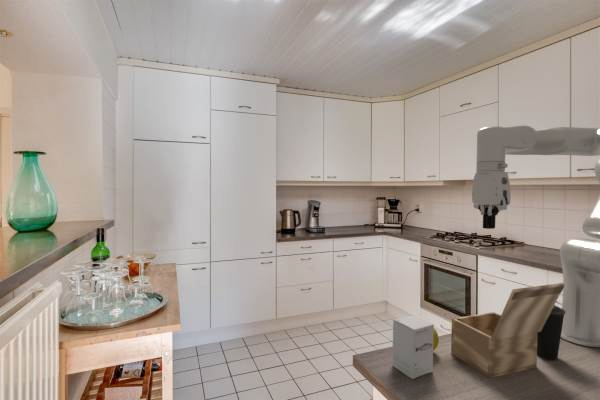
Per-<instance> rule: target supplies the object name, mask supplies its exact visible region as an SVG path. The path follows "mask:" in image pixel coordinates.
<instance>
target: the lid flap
mask: <svg viewBox="0 0 600 400" xmlns="http://www.w3.org/2000/svg"><path fill="white" fill-rule="evenodd" d="M564 285H565V284H563V282H560V283H553V284H552V283H551V284H544V285H536V286H528V287H520V288H513V289H512V290H511V293H510V294H509V297H508V299H507V301H506V304H505V306H504V308H503V310H502V313H501V314H500V315H501V317H500V319H499V322H498V324H497V326H496V328H495V331H494V333H493V335H492V337H491V339H492V340H493V341H494V340H499V339H504V338H510V337H515V336H520V335H525V334H530V333H536V332H541V330H542V328H543V326H544V324H545V322H546V320H547V318H548V316H549V315H550V313H551V311H552V309H553V307H554V305H555V304H556V302H557V300H558V299H559V296H560V295H561V294H562V293H563V288H564ZM555 306H556V305H555Z"/></svg>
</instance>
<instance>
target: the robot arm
mask: <svg viewBox="0 0 600 400" xmlns="http://www.w3.org/2000/svg"><path fill="white" fill-rule="evenodd" d="M506 155H507V156H508V155H510V156H513V155H514V156H522V155H523V156H529V155H530V156H581V157H582V156H584V157H593V156H594V157H596V156H597V157H599V156H600V127H577V126H576V127H573V126H557V127H550V128H545V129H539V130H536V129H535V128H533V127H532V126H530V125H529V126H528V125H515V126H505V127H503V126H485V127H482V128H480V129H478V131H477V133H476V165H475V166H476V170H475V171H476V173H474V176H473V182H472V189H471V201H472V203H473V208H474V209H477V210H479V212H480V215H482V228H483V229H486V230H487V229H488V230H491V229H492V230H493V229H496V216H498V214H499V213H500V212H502V211H506V210H507V209H508V207H507V206H508V205H510V204H511V182H510V178H509V173H508V172H506V169H508V167H509V165H508V163H506ZM594 174H595V177H596V179H597V181H598V184H599V185H600V158H599V159H598V160H597V161H596V163H595V165H594ZM581 228H582V232H583V233H584V234H585V235H587V237H590V238H593V239H589V238H584V237H573V238H569V239H567V240H565V241H564V242H563V243H562V245H561V246H560V247H559V257H560V262H561V267H562V283H563V284H565V285H564V288H563V290H562V296H561V298H562V300H561V301H562V302H561V304H562V305H561V306H562V307H561V309H563V310H565V312H566V313H565V315H564V318H563V325H562V332H561V338H560V339H563V340H565V341H568V342H570V343H573V344H576V345H580V346H583V347H584V346H585V347H589V348H590V347H591V348H600V195H599V196H598V197H597V199H596V201H595V202H594V204H593V206H592V207H591V209H590V210H589V212H588V213H587V216H586V217H585V218H584V221H583V223H582V226H581Z"/></svg>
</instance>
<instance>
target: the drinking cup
mask: <svg viewBox="0 0 600 400" xmlns="http://www.w3.org/2000/svg"><path fill="white" fill-rule="evenodd" d="M565 313H566V312H565V310H563V309H562V307H559V306H557V305H554V307H553V309H552V311H551V313H550V315H549V316H548V318H547V320H546V322H545V324H544V326H543V328H542V330H541V332H538V336H537V357H539V358H540V359H544V360H548V361H557V360H558V358H559V350H560V343H561V339H562V338H561V332H562V325H563V318H564V315H565Z"/></svg>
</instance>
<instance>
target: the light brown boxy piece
mask: <svg viewBox="0 0 600 400" xmlns="http://www.w3.org/2000/svg"><path fill="white" fill-rule="evenodd" d="M501 315H502V314H500V313H498V312H495V311H491V312H486V313H479V314H472V315H466V316H459V317H453V318H451V334H450V336H451V337H450V338H451V339H450V341H451V342H450V343H451V344H450V345H451V346H450V347H451V348H450V353H451V354H452V353H453V354H452V355H454V356H455V357H456V358H459V359H461V361H462V362H465V363H466V364H468V365H469V366H471V367H473V368H474V369H476V370H478V371H479V372H480V373H482V374H484V375H485V376H487V377H488V378H491V379H492V378H496V377H500V376H504V375H510V374H513V373H517V372H522V371H526V370H531V369H534V368H537V365H538V364H537V363H538V361H537V360H538V355H537V336H538V332H536V333H530V334H525V335H520V336H515V337H510V338H504V339H499V340H494V341H493V340H492V339H491V337H492V335H493V333H494V331H495V328H496V326H497V324H498V322H499V319H500V317H501Z"/></svg>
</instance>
